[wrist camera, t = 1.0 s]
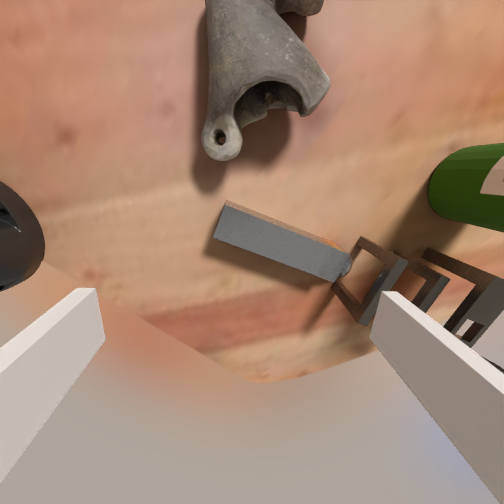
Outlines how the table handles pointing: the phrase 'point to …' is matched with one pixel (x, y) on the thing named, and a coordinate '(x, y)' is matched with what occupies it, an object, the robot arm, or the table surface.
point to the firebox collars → (431, 290)
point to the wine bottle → (471, 186)
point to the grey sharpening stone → (282, 242)
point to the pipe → (256, 68)
